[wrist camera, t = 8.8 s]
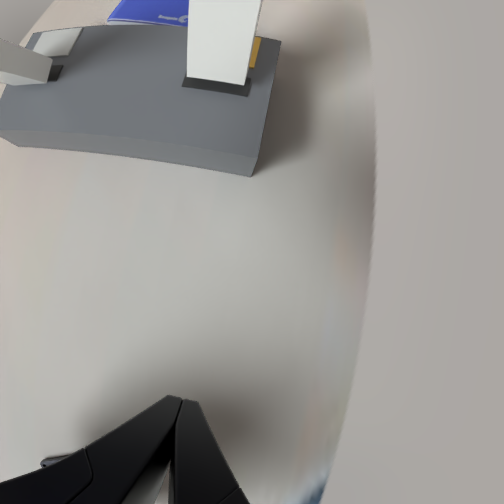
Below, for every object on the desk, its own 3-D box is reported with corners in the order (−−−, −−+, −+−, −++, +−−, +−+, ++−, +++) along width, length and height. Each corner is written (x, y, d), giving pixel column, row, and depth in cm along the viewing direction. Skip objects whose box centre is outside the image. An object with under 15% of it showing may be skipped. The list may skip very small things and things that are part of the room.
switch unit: (250, 177, 20) (258, 157, 15) (17, 146, 18) (-13, 129, 14) (271, 73, 20) (281, 39, 16) (53, 58, 18) (32, 32, 14)
